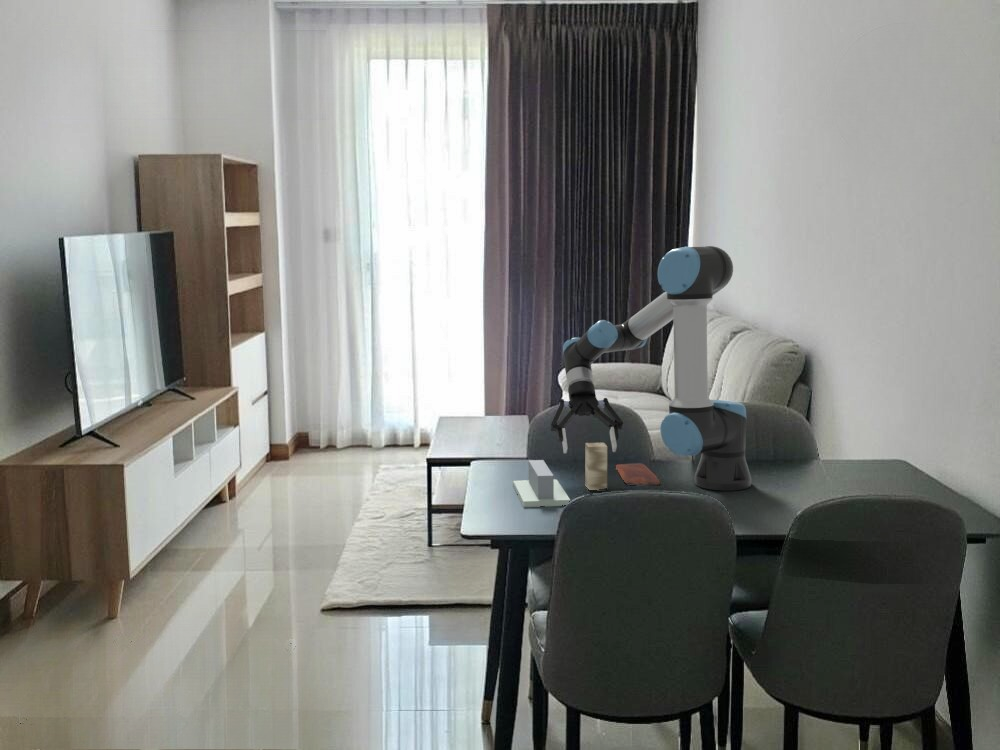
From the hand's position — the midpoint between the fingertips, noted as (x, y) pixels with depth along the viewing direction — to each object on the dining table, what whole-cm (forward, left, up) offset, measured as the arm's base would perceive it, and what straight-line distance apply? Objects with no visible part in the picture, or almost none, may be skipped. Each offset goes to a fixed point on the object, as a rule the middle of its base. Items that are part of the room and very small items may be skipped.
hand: (590, 450), depth 299 cm
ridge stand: (+9, +16, -10) cm, 21 cm away
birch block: (-3, +4, -10) cm, 11 cm away
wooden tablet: (-10, -15, -10) cm, 21 cm away
